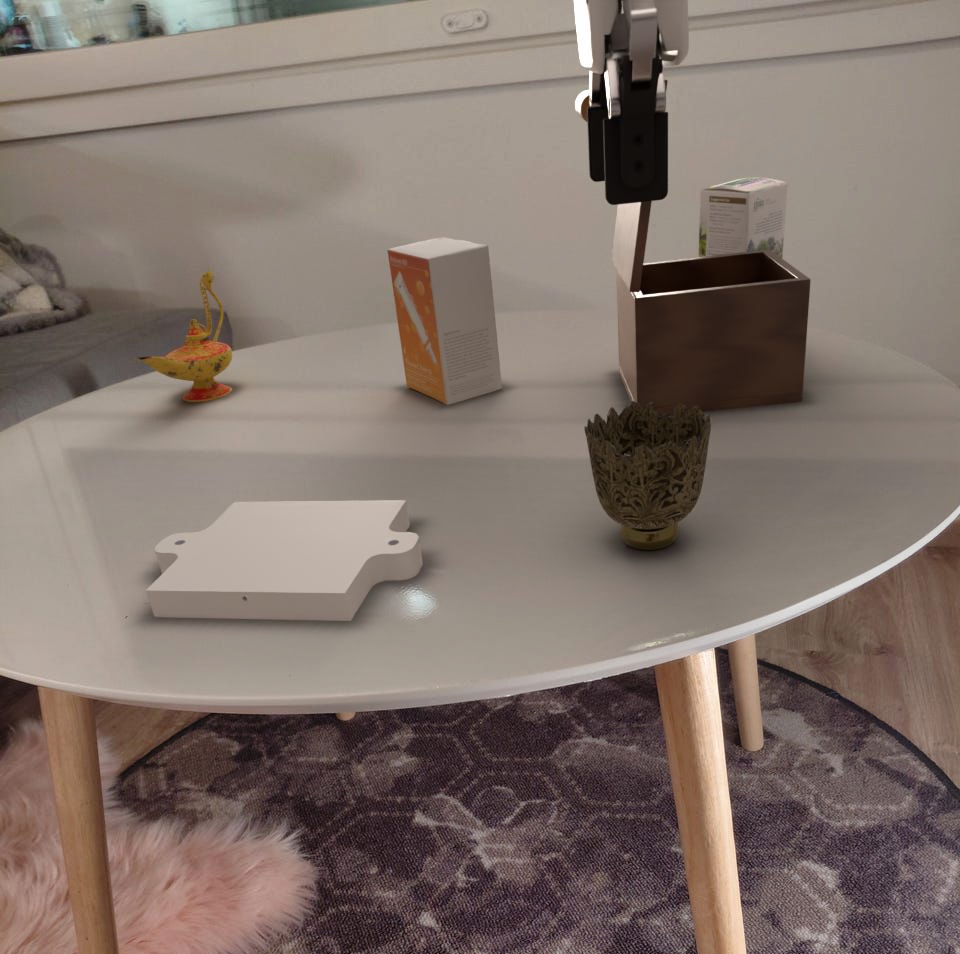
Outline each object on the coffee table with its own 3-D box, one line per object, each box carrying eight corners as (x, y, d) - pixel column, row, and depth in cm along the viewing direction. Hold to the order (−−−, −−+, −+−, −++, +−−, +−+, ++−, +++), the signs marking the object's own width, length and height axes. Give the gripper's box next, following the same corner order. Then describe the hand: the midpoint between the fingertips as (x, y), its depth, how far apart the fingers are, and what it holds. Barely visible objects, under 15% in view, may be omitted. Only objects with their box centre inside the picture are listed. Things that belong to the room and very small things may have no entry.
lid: (642, 74, 79) (574, 70, 79) (667, 80, 68) (588, 75, 68) (620, 261, 87) (557, 257, 86) (639, 292, 76) (568, 288, 76)
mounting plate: (118, 616, 61) (109, 590, 60) (209, 526, 72) (202, 502, 71) (391, 622, 57) (386, 593, 56) (444, 525, 67) (441, 499, 66)
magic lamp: (125, 431, 93) (89, 314, 87) (209, 373, 108) (182, 269, 102) (189, 429, 92) (156, 310, 86) (265, 371, 106) (242, 265, 100)
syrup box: (731, 330, 101) (736, 176, 93) (779, 337, 96) (788, 177, 89) (695, 344, 98) (697, 186, 90) (743, 352, 94) (749, 188, 86)
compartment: (764, 359, 91) (769, 249, 86) (802, 402, 80) (810, 279, 75) (619, 374, 92) (615, 266, 87) (637, 419, 81) (634, 298, 76)
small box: (405, 388, 95) (385, 248, 89) (461, 372, 98) (445, 235, 91) (446, 406, 89) (427, 257, 82) (504, 389, 92) (490, 243, 85)
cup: (725, 524, 63) (729, 404, 59) (685, 576, 58) (685, 448, 53) (619, 510, 66) (615, 395, 62) (571, 557, 61) (563, 436, 57)
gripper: (736, -262, 39) (723, 204, 48) (669, -178, 53) (668, 165, 62) (547, -236, 39) (569, 220, 48) (532, -161, 54) (551, 178, 63)
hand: (625, 189), depth 55 cm, fingers open, 9 cm apart
